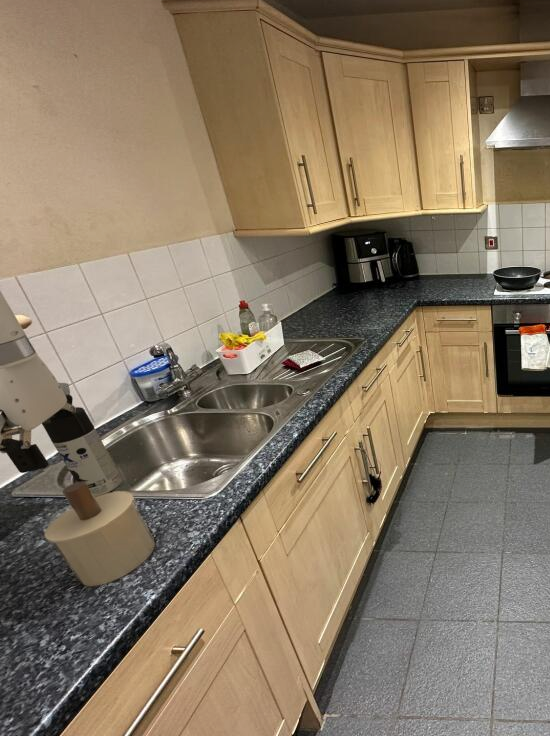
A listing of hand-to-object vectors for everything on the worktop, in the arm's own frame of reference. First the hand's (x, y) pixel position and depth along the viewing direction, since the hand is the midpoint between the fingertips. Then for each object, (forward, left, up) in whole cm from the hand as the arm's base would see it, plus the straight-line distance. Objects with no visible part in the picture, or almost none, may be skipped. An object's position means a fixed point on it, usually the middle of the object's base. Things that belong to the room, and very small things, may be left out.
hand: (56, 451), depth 65 cm
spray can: (-14, +27, -24) cm, 39 cm away
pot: (0, 0, -24) cm, 24 cm away
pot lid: (0, 0, -14) cm, 14 cm away
